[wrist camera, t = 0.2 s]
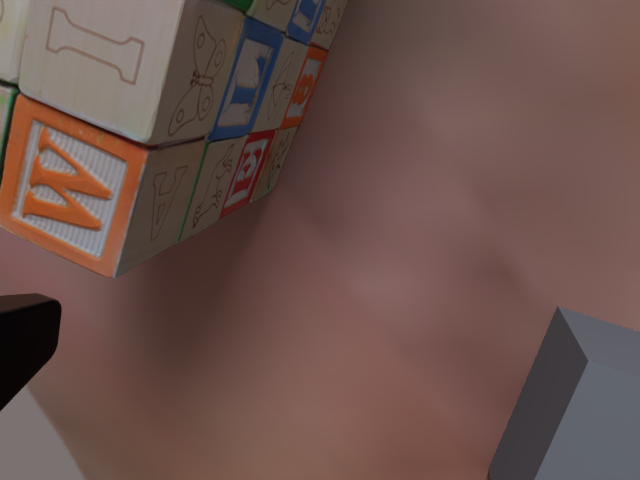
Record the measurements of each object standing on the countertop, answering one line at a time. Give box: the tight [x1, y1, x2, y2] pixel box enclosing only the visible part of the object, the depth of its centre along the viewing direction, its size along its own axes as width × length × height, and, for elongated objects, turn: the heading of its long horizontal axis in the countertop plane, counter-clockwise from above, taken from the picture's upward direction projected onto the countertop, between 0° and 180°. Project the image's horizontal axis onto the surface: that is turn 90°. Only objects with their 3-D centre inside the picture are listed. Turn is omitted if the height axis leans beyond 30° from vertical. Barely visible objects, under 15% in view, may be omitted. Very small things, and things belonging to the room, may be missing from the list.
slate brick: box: [489, 306, 640, 480], centre depth 20 cm, size 8×4×5 cm, turn 164°
